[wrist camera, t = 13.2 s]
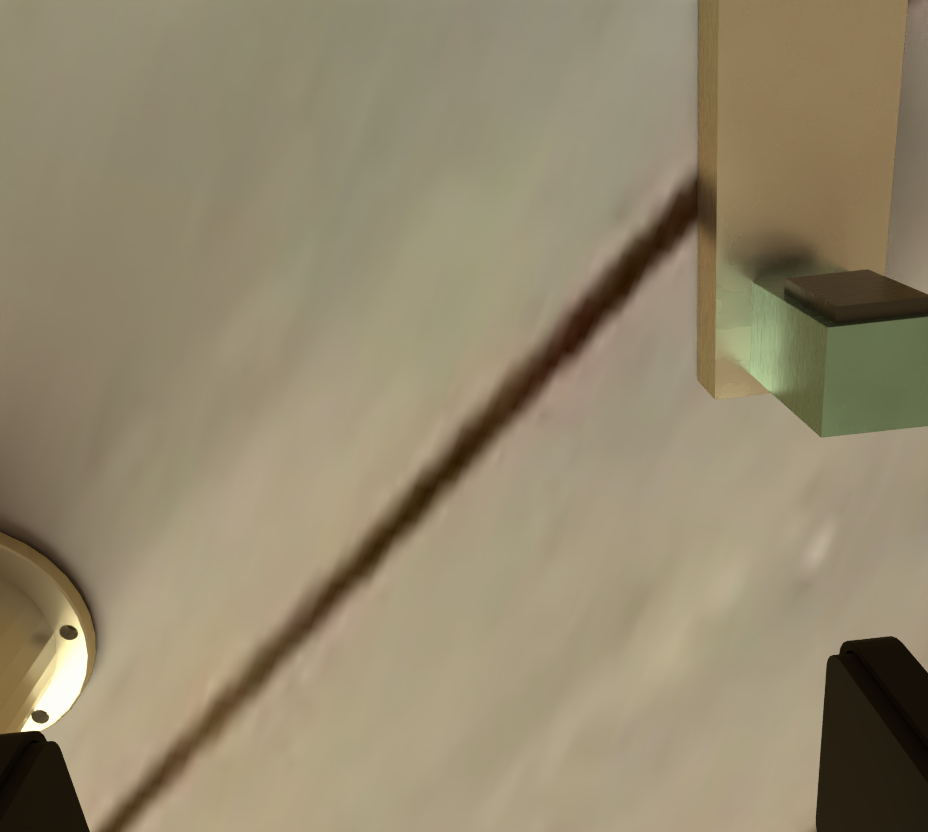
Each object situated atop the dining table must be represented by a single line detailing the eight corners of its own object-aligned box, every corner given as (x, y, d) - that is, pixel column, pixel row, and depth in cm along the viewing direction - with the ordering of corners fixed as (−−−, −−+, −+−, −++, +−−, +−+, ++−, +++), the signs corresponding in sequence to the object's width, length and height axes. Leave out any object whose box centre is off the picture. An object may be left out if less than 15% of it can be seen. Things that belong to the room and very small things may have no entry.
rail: (697, 380, 39) (777, 467, 30) (698, -341, 29) (817, -525, 20) (848, 363, 39) (973, 446, 30) (900, -362, 29) (1106, -556, 20)
